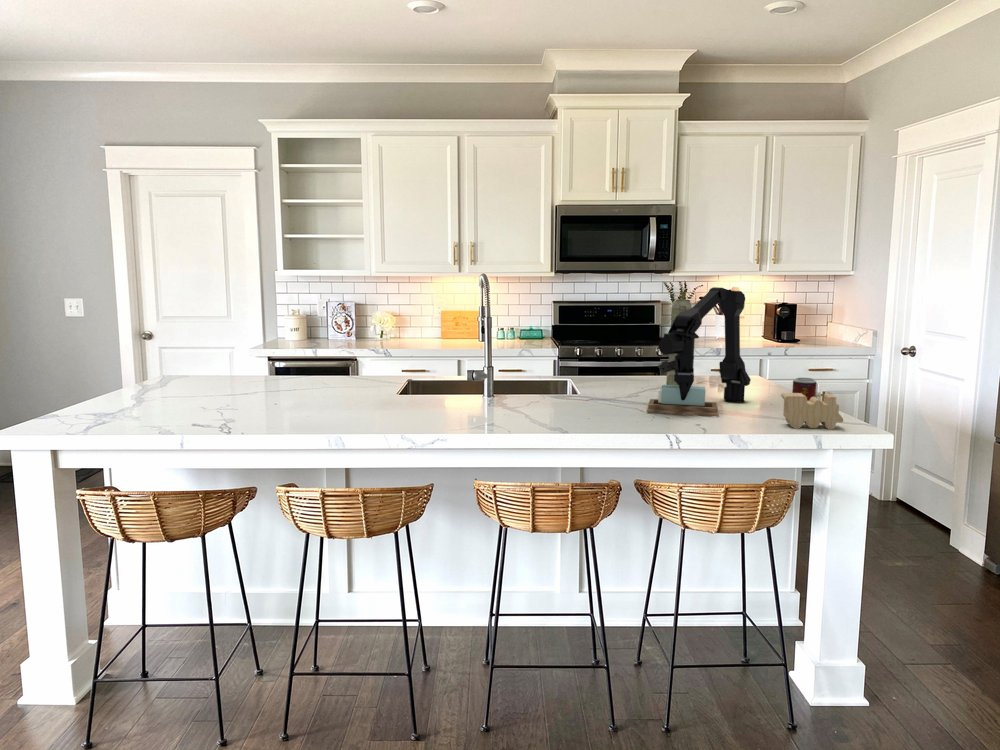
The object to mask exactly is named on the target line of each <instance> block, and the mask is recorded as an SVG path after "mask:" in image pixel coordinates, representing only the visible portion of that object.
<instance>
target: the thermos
mask: <svg viewBox="0 0 1000 750" xmlns="http://www.w3.org/2000/svg"><path fill="white" fill-rule="evenodd" d="M692 307H693V306H692V304H691V301H689V299H675V300H674V301H673V302H672V305H671V308H670V309H671V310H670V311H671V312H670V321H671V324H670V328H671V326H672V324H673V322H674V320H675V317H676V316H677V315H678V314H680V313H682V312H683V311H686V310H689V309H691V308H692ZM670 328H669V329H670ZM675 355H676V354H668V361H669V360H672V359H675ZM674 370H675V369H674ZM674 370H672V371H669V372H666V384H665V385H678V384H677V383H676V382H675V381H674V374H675V372H674ZM678 386H679V385H678Z"/></svg>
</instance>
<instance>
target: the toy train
mask: <svg viewBox="0 0 1000 750" xmlns="http://www.w3.org/2000/svg"><path fill="white" fill-rule="evenodd" d="M780 397H781V398H782V399H783V400H784V401H783V414H782V415H783V417H784V419H785V421H786V423H788V424H789V425H790V427H792V428H794V429H800V428H802V427H803V426H804V424H805V425H806V426H807V427H809V428H810V429H817V428H818V427H819V426H820V424H821V425H822V426H823V427H825V428H826V429H828V430H833V429H835V428H836V425H837V423H843V422H844V418H843V416H841V413H839V412H840V405H839V404H838V403H837V396H835V395H833V394H832V393H824V394H823V401H822V400H820V399H819V398H817V397H811V398H810V400H809V401H807V397H806V396H804V395H803V394H802V393H792V392H782V393H781V394H780Z"/></svg>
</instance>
